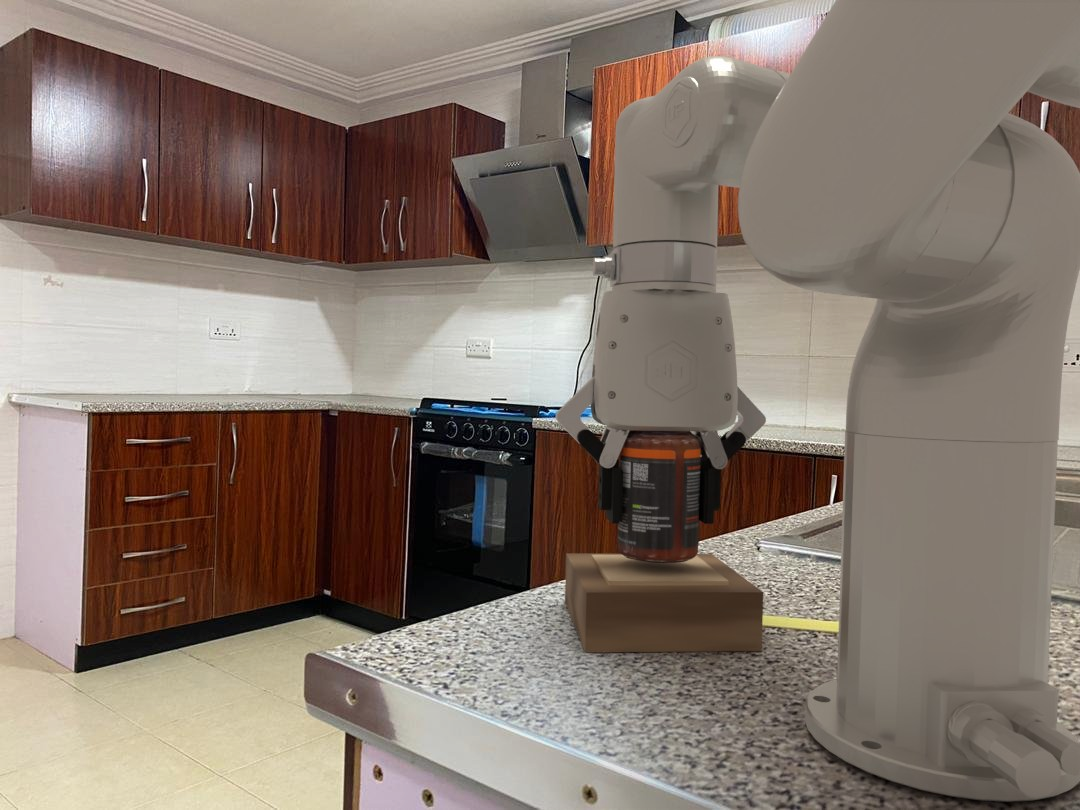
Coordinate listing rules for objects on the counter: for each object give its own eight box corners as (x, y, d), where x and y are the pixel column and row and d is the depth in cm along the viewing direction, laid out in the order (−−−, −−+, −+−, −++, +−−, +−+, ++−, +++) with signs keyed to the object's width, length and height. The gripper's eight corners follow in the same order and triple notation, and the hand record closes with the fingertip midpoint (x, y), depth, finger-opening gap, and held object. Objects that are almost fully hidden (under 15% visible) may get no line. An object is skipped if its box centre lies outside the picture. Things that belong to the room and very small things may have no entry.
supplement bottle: (694, 550, 63) (700, 403, 63) (701, 567, 57) (708, 405, 57) (616, 546, 64) (621, 401, 63) (616, 563, 58) (621, 402, 58)
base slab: (761, 651, 55) (763, 587, 55) (585, 652, 54) (586, 588, 54) (710, 602, 67) (711, 550, 67) (564, 602, 66) (566, 549, 66)
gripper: (551, 265, 55) (546, 529, 56) (799, 272, 57) (791, 530, 57) (541, 278, 63) (537, 512, 63) (761, 284, 64) (755, 513, 65)
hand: (658, 518), depth 60 cm, fingers open, 6 cm apart
